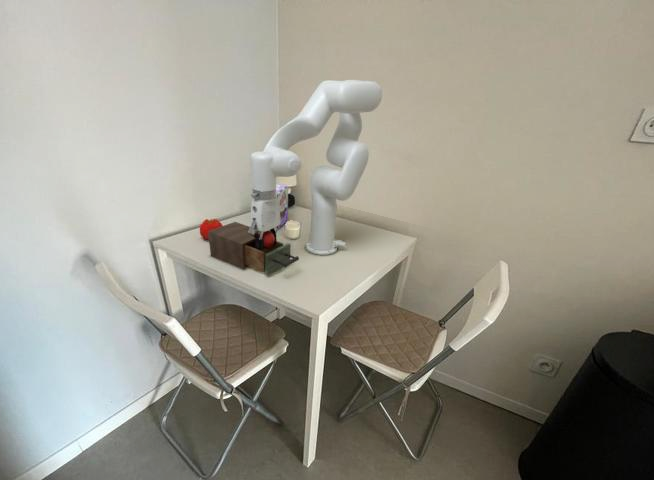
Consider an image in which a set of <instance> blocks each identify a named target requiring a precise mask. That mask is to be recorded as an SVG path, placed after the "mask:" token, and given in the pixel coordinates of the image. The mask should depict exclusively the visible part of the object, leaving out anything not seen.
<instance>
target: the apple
mask: <svg viewBox="0 0 654 480" xmlns="http://www.w3.org/2000/svg"><path fill="white" fill-rule="evenodd" d="M258 235H259V234H258ZM262 239H263V240H264V249H269V248H271V246H272V245H273V244H274V241H275V237H274V235H273V233H272V232H271V231H270V230H268V231H266V232H263V236H262Z"/></svg>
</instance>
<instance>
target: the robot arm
mask: <svg viewBox="0 0 654 480" xmlns="http://www.w3.org/2000/svg"><path fill="white" fill-rule="evenodd" d="M382 98H383V91H382V87H381V86H380V84H379V83H378V82H376V81H374V80H361V79H345V80H335V79H334V80H333V79H327V80H323V81H322V82H321V83H319V84H318V86H317V87H316V88H315V90H314V91H313V93H312V94H311V96H310V98H309V99H308V100H307V101H306V103H305V105H304V106H303V107H302V109H301V111H300V112H299V113H298V115H297V116H296V117H295V118H293V119H291V120H289V122H287V123H286V124H284V125H283V126H281V127H280V128H278V129H277V131H275V132H274V134H272V136H271V137H270V139H269V141H268V142H267V143H266V145H265V146H264V148H263V150H261V151H255V152H252V153H251V154H250V176H251V177H250V178H251V195H250V196H251V198H252V199H251V202H250V203H251V205H250V225H249V227H250V228H249V230H248V232H249V233H250V234H251V235H252V236H253V237H254V238H255V244H256V248H257V249H259V250H264V240H263V239H262V236H263V232H266V231H268V230H269V231H271V232H272V233H273V235H274V237H275V241H274V244H276V241H277V233H278V230H279V229H278V227H279V225H280V222H281V218H280V207H279V201H278V197H277V196H276V185H277V177H278V178H279V177H282V178H283V177H284V178H290V177H293V176H295V175H297V174H298V173H299V172H300V170H301V168H302V160H301V158H300V156H298V154H297V153H295V152H293V151H291V150H289V149H291V148H292V147H293V146H294V145H296V144H298V143H300V142H304V141H307V140H311V139H313V138H315V137H318V136H319V135H320V133H321V132H322V131H323V129H325V126H326V124H328V122H329V120H330V119H331V118H332V116H333V114H334V113H339V121H338V124H337V127H336V129H335V130H334V133H333V136H332V138H331V139H330V142H329V144H328V147H327V149H326V151H325V152H326V153H325V158H326V161H327V162H328V163H329V164H331V165H332V166H334V167H338V168H341V169H337V168H334V167H330V166H326V165H322V166H317V167H316V168H314V169H313V170H312V172H311V173H310V177H309V185H310V191H311V211H310V213H311V216H310V218H311V219H310V233H309V235H310V236H309V241H308V242H307V243H306V244H305V249H306V251H308V252H309V253H311V254H314V255H318V256H328V255H332V254H335V253H336V252H337V251H338V247H343V248H345V247H346V241H343V240H342V239H336V237H335V233H336V221H337V211H338V205H337V200H338V201H347V200H349V199H350V198H351V197H352V195H353V194H354V193H355V190H356V189H357V187H358V184H359V182H360V180H361V178H362V177H363V174H364V172H365V170H366V167H367V165H368V162H369V149H368V146H367V145H366V144H365V143H364V142H362V141H359V138H360V135H361V133H362V131H363V122H362V121H363V120H362V117H361V113H370V112H374V111H375V110H377V108H378V107H379V106H380V104H381V102H382ZM277 229H278V230H277ZM258 231H259V232H260V233H259V235H258Z"/></svg>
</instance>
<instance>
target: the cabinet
mask: <svg viewBox="0 0 654 480" xmlns="http://www.w3.org/2000/svg"><path fill="white" fill-rule="evenodd" d="M249 228H250V225H246V224H243V223H240V222H238V221H233V222H230V223H228V224H224V225H223V226H222V227H219V228H216V229H213V230H210V231H208V236H209V240H208V244H209V251H210V256H211V257H212V258H215V259H217V260H218V261H221V262H224V263H226V264H229V265H231V266H234V267H236V268H238V269H241V270H246V269H248V268H251V267H250V266H247V265H245V255H244V245H247V244H249V243H251V242H253V241H255V238H254V237H253V236H252V235H251V234H250V233H249V232H248V230H249ZM259 233H260V232H259V231H258V234H259Z"/></svg>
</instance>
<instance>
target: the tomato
mask: <svg viewBox="0 0 654 480" xmlns="http://www.w3.org/2000/svg"><path fill="white" fill-rule="evenodd" d="M222 226H224V225H223V224H222V222H220V221H219V220H218V219H217V218H212V219H207V218H206V219H205V220H204V221H203V222H202V223H201V224H200V225H199V234H200V237H202V238H203V239H204V240H208V241H209V236H208V231H210V230H213V229H216V228H219V227H222Z"/></svg>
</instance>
